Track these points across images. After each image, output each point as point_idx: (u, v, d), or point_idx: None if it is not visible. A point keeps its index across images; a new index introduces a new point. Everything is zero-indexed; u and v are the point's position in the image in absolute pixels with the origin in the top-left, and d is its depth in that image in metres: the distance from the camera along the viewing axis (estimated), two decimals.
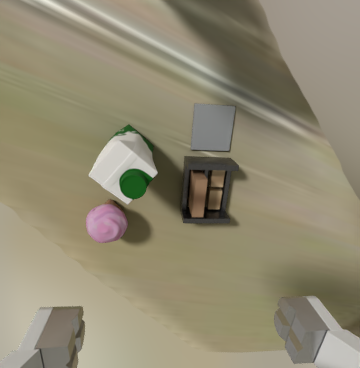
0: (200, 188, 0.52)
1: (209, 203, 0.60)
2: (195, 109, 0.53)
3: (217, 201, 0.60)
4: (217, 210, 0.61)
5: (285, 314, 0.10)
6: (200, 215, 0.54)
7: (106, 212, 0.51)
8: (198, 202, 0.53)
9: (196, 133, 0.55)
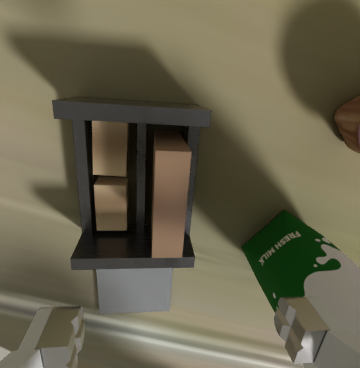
0: (169, 236, 0.19)
1: (124, 140, 0.22)
2: (168, 304, 0.32)
3: (102, 144, 0.22)
4: None
5: (285, 314, 0.10)
6: (164, 157, 0.17)
7: None
8: (173, 200, 0.18)
9: (164, 273, 0.30)
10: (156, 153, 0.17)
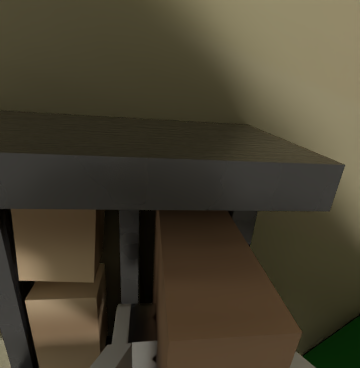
0: None
1: (88, 213, 0.09)
2: None
3: (37, 221, 0.09)
4: None
5: None
6: (202, 355, 0.04)
7: None
8: None
9: None
10: (172, 348, 0.04)
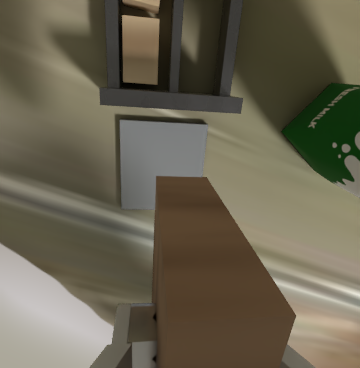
0: None
1: None
2: None
3: None
4: None
5: None
6: (200, 337, 0.05)
7: None
8: None
9: (196, 158, 0.27)
10: (171, 330, 0.05)
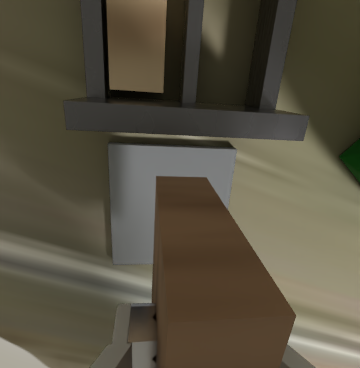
0: None
1: None
2: None
3: None
4: None
5: None
6: (200, 337, 0.05)
7: None
8: None
9: None
10: (171, 330, 0.04)
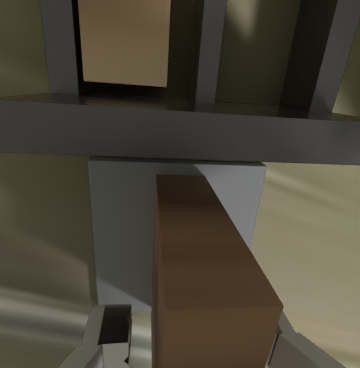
0: None
1: None
2: None
3: None
4: None
5: None
6: (195, 325, 0.05)
7: None
8: None
9: (238, 227, 0.14)
10: (169, 318, 0.05)
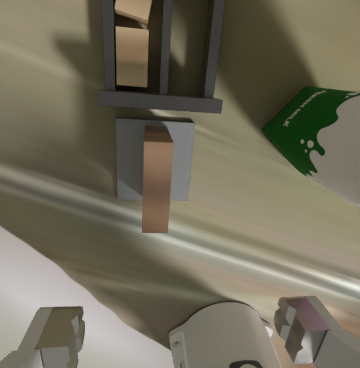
0: (156, 214, 0.23)
1: None
2: (186, 192, 0.32)
3: None
4: None
5: (285, 314, 0.10)
6: (151, 146, 0.21)
7: None
8: (159, 183, 0.22)
9: (184, 153, 0.30)
10: (144, 143, 0.20)
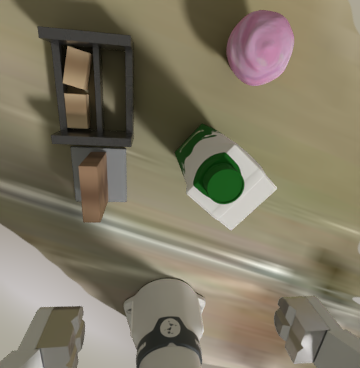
0: (91, 210, 0.37)
1: (86, 64, 0.35)
2: (125, 196, 0.45)
3: (71, 63, 0.35)
4: (66, 44, 0.34)
5: (285, 314, 0.10)
6: (83, 169, 0.34)
7: (256, 78, 0.33)
8: (90, 190, 0.35)
9: (120, 169, 0.43)
10: (79, 167, 0.34)
